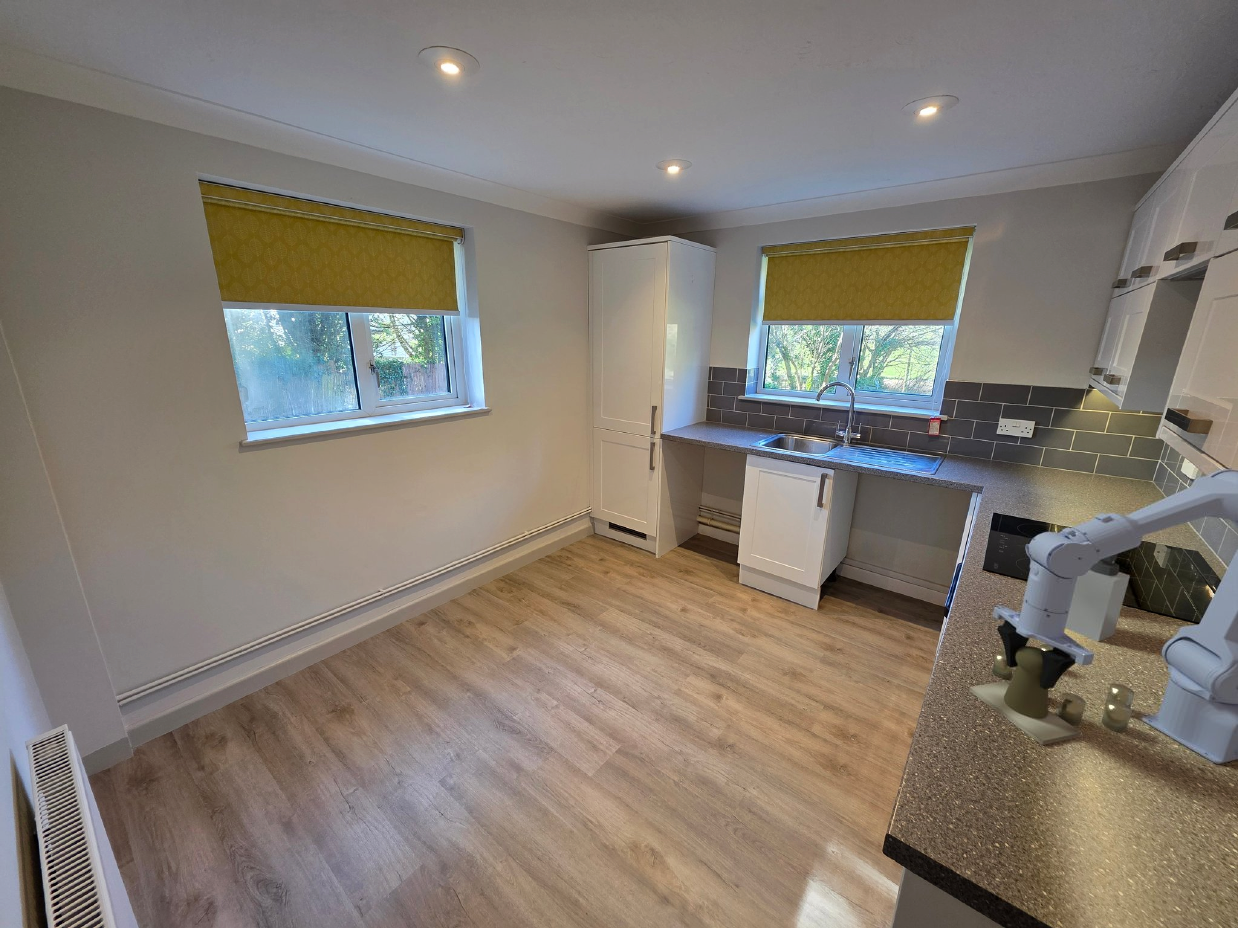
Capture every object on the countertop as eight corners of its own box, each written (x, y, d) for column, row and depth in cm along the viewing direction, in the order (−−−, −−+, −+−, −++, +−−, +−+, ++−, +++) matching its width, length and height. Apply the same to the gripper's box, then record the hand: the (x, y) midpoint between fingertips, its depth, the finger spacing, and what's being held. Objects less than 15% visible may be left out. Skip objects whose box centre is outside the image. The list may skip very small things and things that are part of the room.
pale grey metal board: (1080, 736, 80) (1081, 732, 80) (1042, 744, 78) (1043, 740, 78) (1003, 684, 92) (1004, 680, 92) (969, 690, 90) (969, 686, 90)
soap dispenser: (1065, 615, 116) (1086, 528, 111) (1113, 635, 108) (1138, 542, 103) (1050, 621, 113) (1070, 533, 108) (1098, 641, 106) (1123, 547, 100)
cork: (1055, 720, 82) (1069, 665, 79) (1014, 715, 83) (1025, 661, 80) (1035, 695, 87) (1047, 642, 84) (996, 690, 89) (1007, 638, 86)
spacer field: (1155, 725, 82) (1161, 705, 81) (1089, 740, 79) (1095, 719, 78) (1028, 651, 102) (1032, 634, 101) (972, 661, 99) (975, 643, 98)
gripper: (985, 586, 86) (971, 653, 89) (1076, 631, 72) (1056, 709, 76) (1016, 582, 88) (1002, 648, 91) (1111, 626, 74) (1091, 702, 77)
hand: (1029, 676), depth 83 cm, fingers closed on cork, 5 cm apart
